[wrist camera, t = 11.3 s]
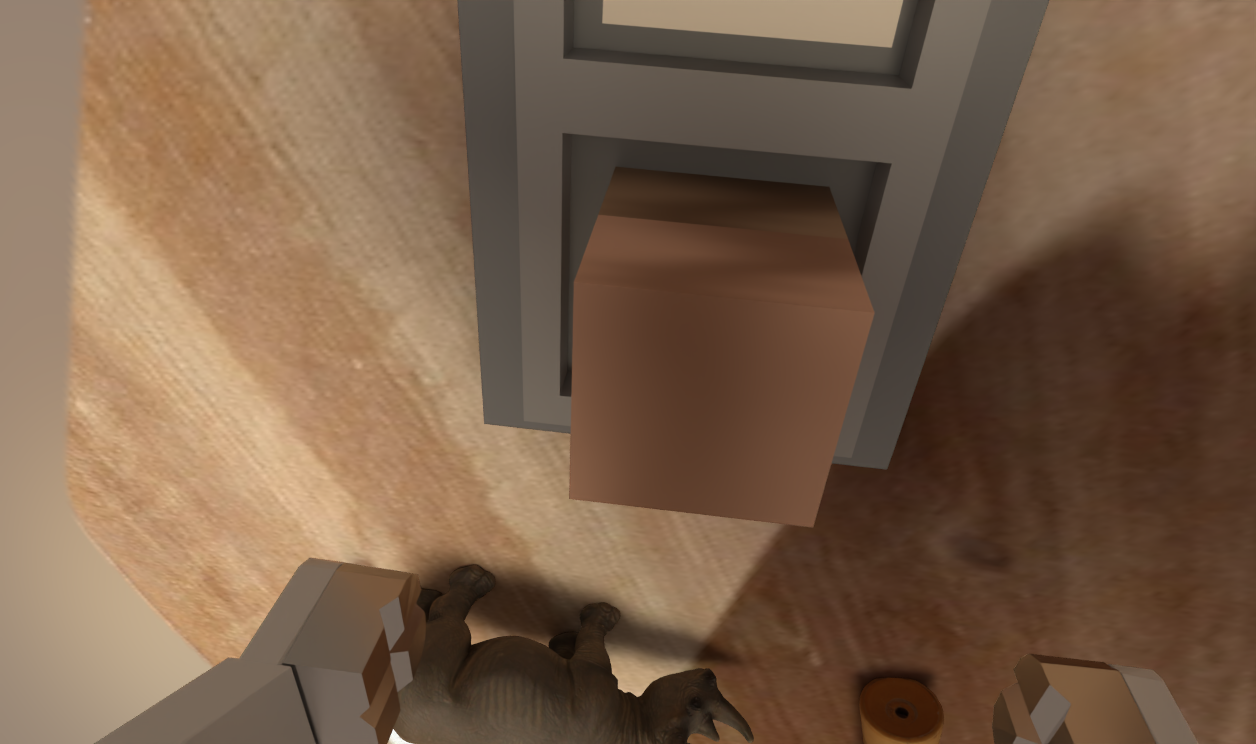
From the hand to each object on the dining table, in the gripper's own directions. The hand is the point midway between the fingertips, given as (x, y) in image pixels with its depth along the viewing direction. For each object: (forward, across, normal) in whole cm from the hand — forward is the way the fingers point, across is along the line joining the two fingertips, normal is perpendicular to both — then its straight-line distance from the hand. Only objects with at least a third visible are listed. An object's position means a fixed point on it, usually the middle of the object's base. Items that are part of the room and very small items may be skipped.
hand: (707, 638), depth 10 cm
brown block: (+10, 0, 0) cm, 11 cm away
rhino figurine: (+12, +3, +16) cm, 20 cm away
